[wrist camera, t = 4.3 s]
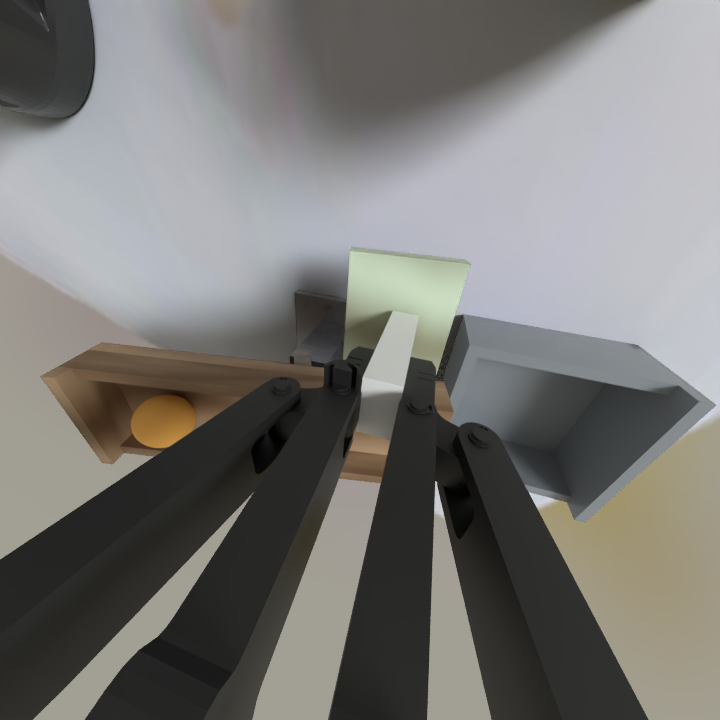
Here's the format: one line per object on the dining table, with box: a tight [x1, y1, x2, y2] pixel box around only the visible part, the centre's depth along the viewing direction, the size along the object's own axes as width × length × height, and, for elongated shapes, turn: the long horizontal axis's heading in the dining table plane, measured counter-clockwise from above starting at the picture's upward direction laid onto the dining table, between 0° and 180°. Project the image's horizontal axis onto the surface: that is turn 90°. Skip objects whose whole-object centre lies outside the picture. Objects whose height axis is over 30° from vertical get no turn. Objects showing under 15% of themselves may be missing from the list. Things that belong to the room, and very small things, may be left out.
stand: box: [290, 290, 347, 368], centre depth 25 cm, size 12×8×7 cm, turn 175°
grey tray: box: [442, 315, 716, 522], centre depth 22 cm, size 13×13×7 cm
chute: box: [41, 247, 471, 483], centre depth 17 cm, size 17×24×5 cm
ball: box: [131, 394, 196, 448], centre depth 18 cm, size 4×4×4 cm
